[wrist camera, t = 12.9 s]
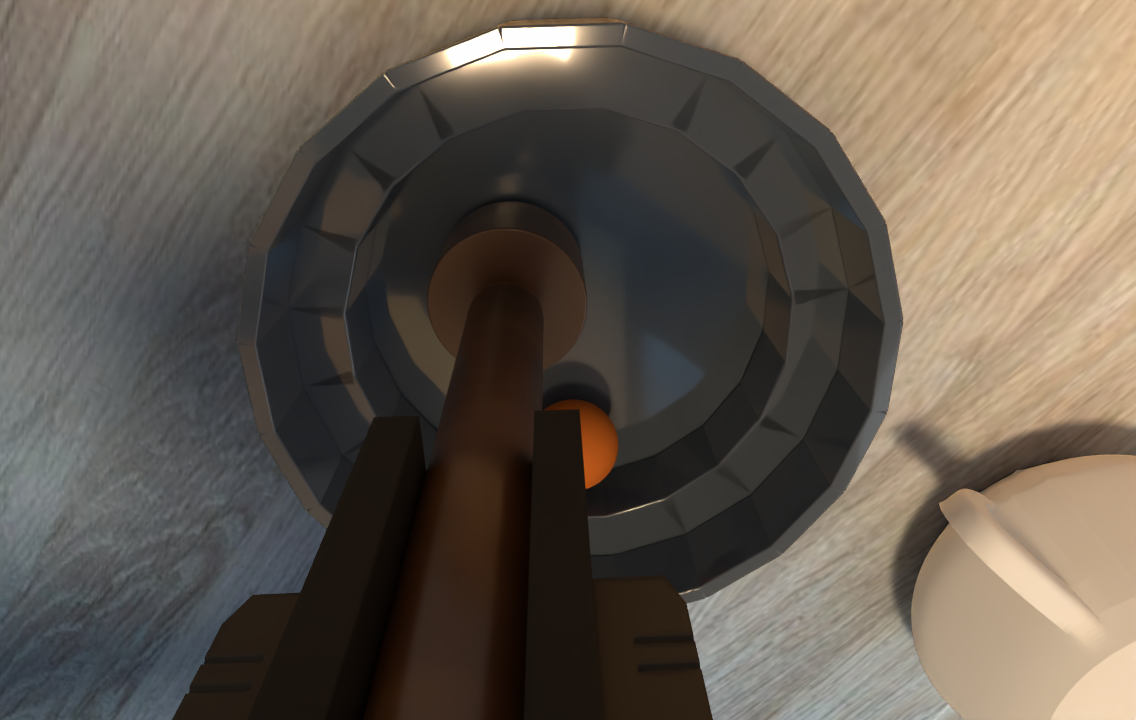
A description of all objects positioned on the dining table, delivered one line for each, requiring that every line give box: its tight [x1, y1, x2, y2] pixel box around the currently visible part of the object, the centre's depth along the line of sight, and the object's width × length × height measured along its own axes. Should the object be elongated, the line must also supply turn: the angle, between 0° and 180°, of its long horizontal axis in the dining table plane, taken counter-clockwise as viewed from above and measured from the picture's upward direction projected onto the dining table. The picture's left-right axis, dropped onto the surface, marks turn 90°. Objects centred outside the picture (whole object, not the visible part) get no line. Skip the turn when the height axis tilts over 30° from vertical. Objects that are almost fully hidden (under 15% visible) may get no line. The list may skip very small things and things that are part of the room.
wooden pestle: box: [363, 201, 587, 720], centre depth 14 cm, size 4×4×21 cm
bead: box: [543, 399, 618, 489], centre depth 25 cm, size 3×3×3 cm
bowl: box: [237, 17, 903, 604], centre depth 23 cm, size 17×17×6 cm
